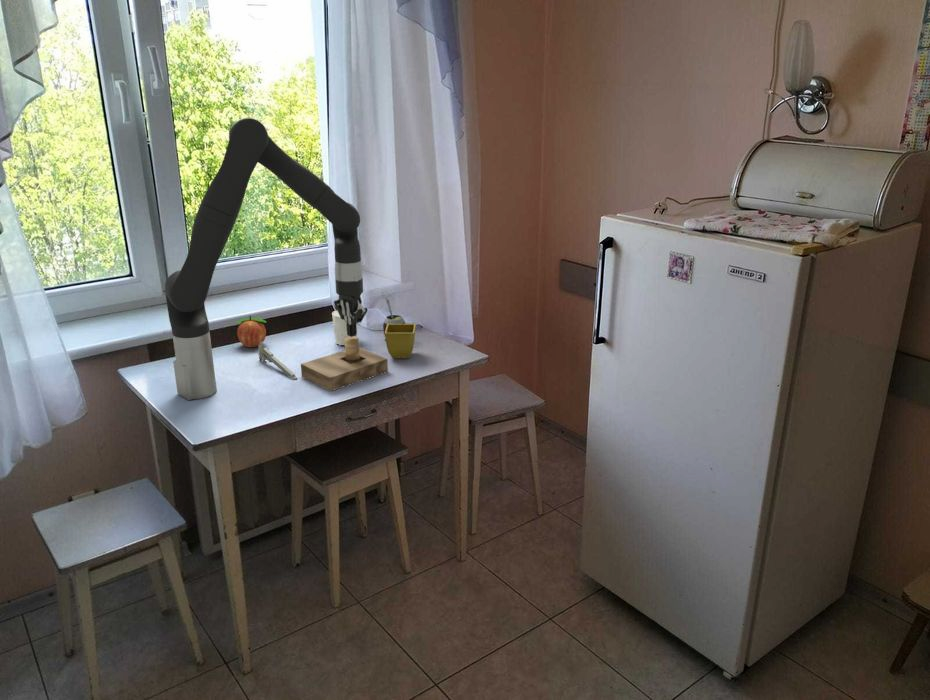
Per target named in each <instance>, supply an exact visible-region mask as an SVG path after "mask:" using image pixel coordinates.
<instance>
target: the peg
mask: <svg viewBox="0 0 930 700" xmlns="http://www.w3.org/2000/svg"><path fill="white" fill-rule="evenodd" d="M359 347H360V339H359V337H358V336H357V337H347V338H345V346H344V351H345V356H346V357H345V359H346V362H348V363H350V364H352V363H355V362H358V361H360V354H359Z"/></svg>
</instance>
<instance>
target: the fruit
mask: <svg viewBox="0 0 930 700" xmlns="http://www.w3.org/2000/svg"><path fill="white" fill-rule="evenodd" d="M238 323H240V324H239V325H238V327H237V333H236V334H237V338H238V341H239V342H240V343H241V344H242V345H243V346H245V347H247V348H258V347H259V345H260V342H263V343H265V339H266V335H267V330H266V327H265V325H264V323H267V321H266V320H264V319H262V318H258V317H253V318H252V316H251V315H249V318H247V317H245V318H241V319H239V320H238V321H236V322H235V323H234V324H238Z"/></svg>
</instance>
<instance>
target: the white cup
mask: <svg viewBox="0 0 930 700" xmlns="http://www.w3.org/2000/svg"><path fill="white" fill-rule="evenodd" d="M331 315H332V316H331V317H332V325H333V327H332V328H333V333H334V339H335V344H336V343H337V344H339V345H338V346H340V345H345V338H347V337H350V336H348V335H347V326H346V323H345V320H344V319H343V320H342V319H341V317H340V315H339V313H338V311H337V309H336V310H334V311H332V312H331ZM356 327H357V328H358V323H357V324H356ZM353 337H358V333H357V334H356V336H353ZM337 344H336V345H337Z"/></svg>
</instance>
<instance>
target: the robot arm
mask: <svg viewBox="0 0 930 700" xmlns="http://www.w3.org/2000/svg"><path fill="white" fill-rule="evenodd" d="M225 150H226V151H225V154H224V156H223V159H222V162H221V164H220V167H219V169H218V172H217V173H216V174H215V176H214V178H213V179H212V181H211V182H210V184H209V186H208V188H207V190H206V191H205V193H204V195H203V197H202V200H201V202H200V204H199V207H198V209H197V212H196V215H195V218H194V221H193V225H192V230H191V236H190V241H189V248H188V252H187V254H186V259H185V261H184V263H183V265H182V267H181V269H180V270H176V271H174V272H172V274H170V275H169V276H168V277H167V279H166V281H165V283H164V294H165V301H166V308H167V313H168V320H169V324H170V328H171V335H172V340H173V341H172V342H173V349H174V355H175V356H174V357H175V360H173V362H172V363H173V369H174V371H173V372H174V376H175V384H176V392H177V395H179V396H180V397H182V398H183V399H185V400H187V401H190V400H199V399H204V398H209V397H211V396H213V395H214V394H215V393H216V392H217V380H216V374H215V373H216V372H215V365H214V356H213V348H212V342H211V341H212V340H211V333H210V324H209V319H208V315H207V312H206V306H205V301H206V300H207V297H208V294H209V290H210V286H211V282H212V279H213V276H214V273H215V269H216V266H217V263H218V262H219V260H220V257H221V255H222V253H223V251H224V249H225V247H226V244H227V242H228V240H229V238H230V235H231V233H232V231H233V228H234V226H235V225H236V221H237V220H238V217H239V214H240V210H241V207H242V204H243V202H244V198H245V195H246V192H247V189H248V183H249V181H250V178H251V176H252V174H253V172H254V170H255V168H256V166H257V164H260V165H261V166H263V167H264V168H266V169H267V170H268V171H270V172H271V173H272V174H273V175H274V176H276V177H277V178H278V179H280V181H281V182H282V183H284V184H285V185H286V186H287V187H288V188H289V189H290V190H291V191H292V192H294V193H295V194H296V195H297V196H298V197H299V198H300V199H302V200H303V201H304V202H306V204H308V205H309V206H310V207H312V208H313V209H314V210H316V211H318V212H319V213H320V214H321V215H322V216H323V217H324V218H326V219H325V220H327V221H328V222H329V223H331V225H332V226H331V227H332V233H333V238H334V279H335V282H334V283H335V294H336V295H338V299H336V300H334V301H333V304H334V307H335V309H336V310H337V311H338V313H339V315H340V317H341V319H342V320H343V319H344V320H345V323H346V326H347V335H348V336H350V337H353V336H356V334H357V335H358V326H357V327H356V324H357V325H358V323H362V321H363V320H364V318H365V316H366V315H367V312H368V308H367V307H364V305H362V304H363V303H362V302H363V300H362V298H361V295H362V294H363V293H364V280H363V277H364V275H363V266H362V257H361V254H362V253H361V244H360V240H359V236H358V228H359V226H360V223H361V216H360V213H359V211H358V210H357V209H356V207H355V206H354V205H353V204H351V203H349V202H347V201H345V200H344V199H343V198H342V197H341V196H339V195H338V194H337V193H336V192H335V191H334V190H333V189H332V188H331V187H330V186H329V185H328V184H327V183H325V182H324V181H323V180H322V179H321V178H320V177H318V176H317V175H316V174H315V173H313V172H312V170H309V169H308V168H307V167H305V166H304V165H303V164H302V163H300V162H298V161H297V160H296V159H294V158H293V157H292V156H291V155H289V154H287V152H286V151H284V150H283V149H282V148H281V147H280V146H279V145H278V144H277V143H276V142H275V141H274V140H273V139H272V138H271V137H270V136H269V133H268V130H267V128H266V126H265V125H264V124H263V123H262V122H261V121H259V120H258V119H256V118H254V117H243V118H240V119H237V120H236V121H235V122H233V123H232V124H231V126H230V128H229V132H228V142H227V147H226V149H225Z"/></svg>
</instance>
